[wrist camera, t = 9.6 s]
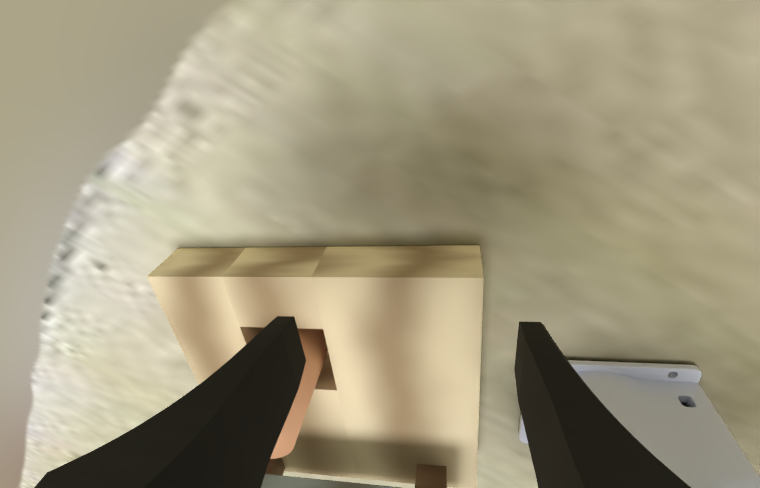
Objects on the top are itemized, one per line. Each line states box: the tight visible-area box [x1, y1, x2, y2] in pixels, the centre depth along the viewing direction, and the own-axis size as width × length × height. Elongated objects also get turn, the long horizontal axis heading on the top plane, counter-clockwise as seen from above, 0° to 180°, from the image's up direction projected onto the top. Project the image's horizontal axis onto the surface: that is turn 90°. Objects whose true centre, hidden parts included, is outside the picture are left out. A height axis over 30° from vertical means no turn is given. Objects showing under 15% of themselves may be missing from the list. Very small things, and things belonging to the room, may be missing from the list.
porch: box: [147, 245, 484, 488], centre depth 24 cm, size 18×18×7 cm
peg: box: [270, 328, 328, 459], centre depth 23 cm, size 4×4×8 cm
